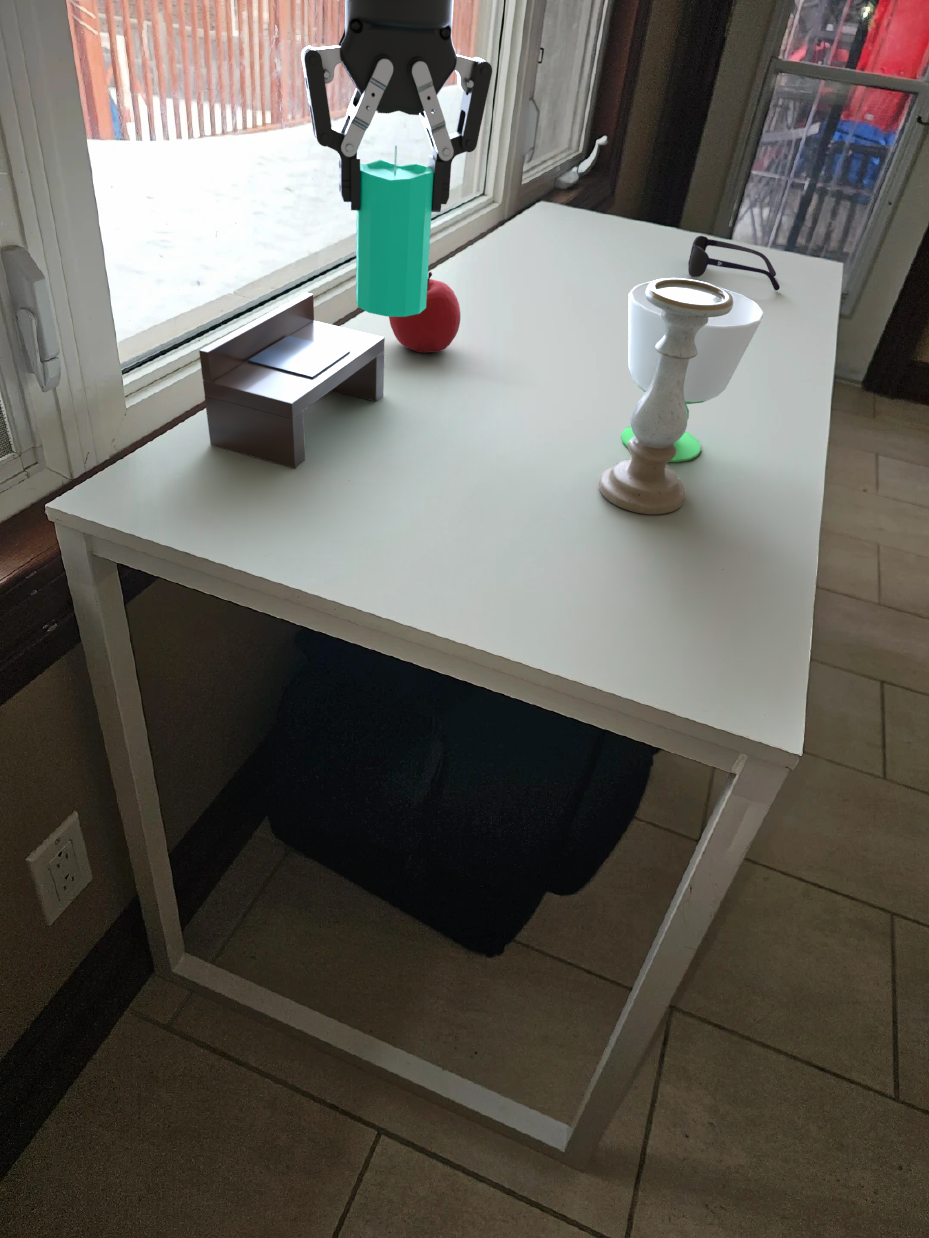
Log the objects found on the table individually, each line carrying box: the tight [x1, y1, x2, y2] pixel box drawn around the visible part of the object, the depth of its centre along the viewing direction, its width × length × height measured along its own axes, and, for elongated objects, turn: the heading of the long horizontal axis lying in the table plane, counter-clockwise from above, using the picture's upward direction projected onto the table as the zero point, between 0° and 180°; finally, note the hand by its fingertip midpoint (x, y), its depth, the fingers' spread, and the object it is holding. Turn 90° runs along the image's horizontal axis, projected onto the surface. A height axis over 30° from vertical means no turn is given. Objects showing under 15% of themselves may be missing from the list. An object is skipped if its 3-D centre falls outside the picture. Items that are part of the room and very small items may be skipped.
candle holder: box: [598, 277, 733, 515], centre depth 79 cm, size 9×9×20 cm
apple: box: [388, 271, 461, 354], centre depth 108 cm, size 9×9×10 cm
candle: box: [355, 144, 434, 317], centre depth 68 cm, size 6×6×12 cm
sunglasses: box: [688, 235, 781, 291], centre depth 145 cm, size 14×16×5 cm
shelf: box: [198, 292, 385, 469], centre depth 89 cm, size 20×10×10 cm, turn 158°
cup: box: [620, 280, 765, 463], centre depth 90 cm, size 14×14×16 cm
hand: (393, 208), depth 67 cm, fingers closed on candle, 6 cm apart
